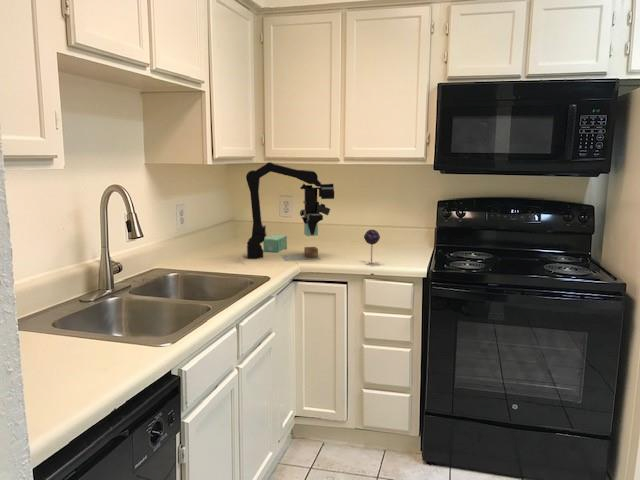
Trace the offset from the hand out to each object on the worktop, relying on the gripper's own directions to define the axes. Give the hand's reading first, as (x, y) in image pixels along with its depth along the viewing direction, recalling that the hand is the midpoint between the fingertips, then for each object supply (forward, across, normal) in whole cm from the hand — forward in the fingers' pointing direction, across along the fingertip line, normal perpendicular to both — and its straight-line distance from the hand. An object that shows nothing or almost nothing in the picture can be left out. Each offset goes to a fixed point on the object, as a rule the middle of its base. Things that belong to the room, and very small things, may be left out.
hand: (311, 233), depth 239 cm
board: (+12, 0, +5) cm, 13 cm away
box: (+12, +21, +13) cm, 27 cm away
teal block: (0, 0, 0) cm, 0 cm away
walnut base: (+10, 0, 0) cm, 11 cm away
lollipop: (+12, -16, -23) cm, 30 cm away
